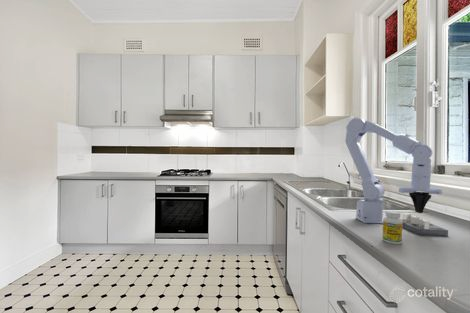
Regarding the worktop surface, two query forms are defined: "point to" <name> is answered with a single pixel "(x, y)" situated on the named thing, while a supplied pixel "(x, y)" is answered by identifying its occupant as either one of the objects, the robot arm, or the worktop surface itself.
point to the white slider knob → (415, 220)
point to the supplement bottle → (392, 228)
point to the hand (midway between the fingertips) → (418, 212)
